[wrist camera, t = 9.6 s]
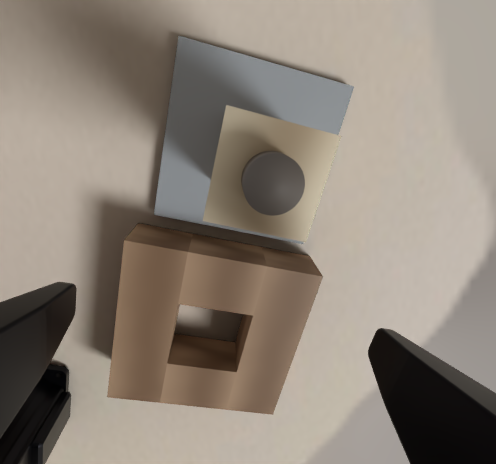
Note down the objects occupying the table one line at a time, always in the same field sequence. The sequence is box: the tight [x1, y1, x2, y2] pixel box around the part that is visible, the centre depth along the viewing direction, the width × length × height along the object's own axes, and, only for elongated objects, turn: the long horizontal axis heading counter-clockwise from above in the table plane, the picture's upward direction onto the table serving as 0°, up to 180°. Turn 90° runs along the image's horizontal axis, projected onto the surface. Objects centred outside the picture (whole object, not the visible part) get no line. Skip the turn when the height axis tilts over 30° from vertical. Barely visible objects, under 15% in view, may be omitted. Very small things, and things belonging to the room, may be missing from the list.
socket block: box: [107, 223, 323, 414], centre depth 21 cm, size 12×12×3 cm
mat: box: [154, 36, 354, 244], centre depth 18 cm, size 10×10×1 cm
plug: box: [203, 105, 341, 242], centre depth 14 cm, size 4×4×9 cm
